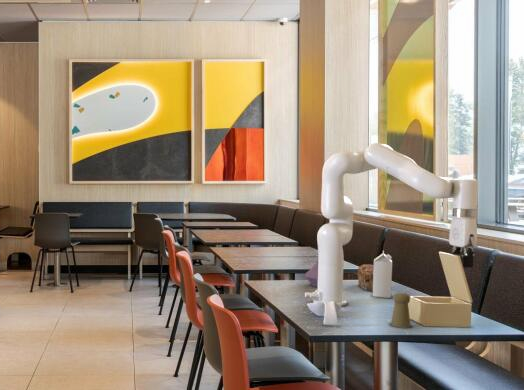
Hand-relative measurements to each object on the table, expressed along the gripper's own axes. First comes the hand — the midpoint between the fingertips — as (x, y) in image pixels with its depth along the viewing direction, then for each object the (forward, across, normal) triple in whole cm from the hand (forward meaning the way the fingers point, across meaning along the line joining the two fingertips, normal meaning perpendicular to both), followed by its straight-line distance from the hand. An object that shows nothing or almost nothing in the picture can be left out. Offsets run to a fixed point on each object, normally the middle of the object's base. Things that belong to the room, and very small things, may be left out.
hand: (462, 265), depth 217 cm
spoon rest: (+20, -2, -46) cm, 50 cm away
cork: (+20, +6, -24) cm, 32 cm away
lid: (+4, 0, -3) cm, 5 cm away
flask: (+20, -70, -26) cm, 77 cm away
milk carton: (+20, -47, -8) cm, 52 cm away
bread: (+20, -66, -4) cm, 69 cm away
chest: (+20, 0, -8) cm, 21 cm away
